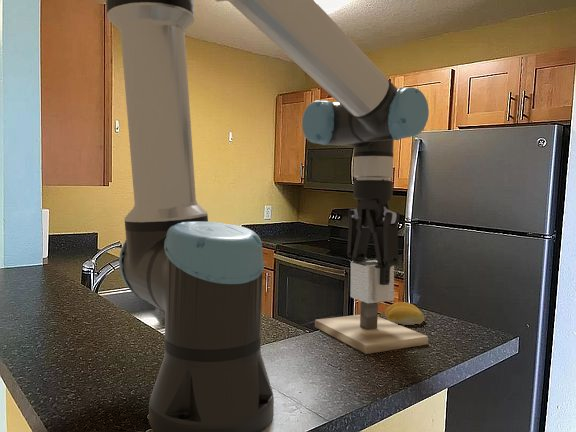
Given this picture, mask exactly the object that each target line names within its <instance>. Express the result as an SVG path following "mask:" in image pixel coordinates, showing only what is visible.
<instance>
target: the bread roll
mask: <svg viewBox="0 0 576 432" xmlns="http://www.w3.org/2000/svg"><path fill="white" fill-rule="evenodd" d="M384 314H385V317H386V320H388V321H390V322H393V323H396V324H403V325H402V326H405V325H414V324H419V325H421V324H420V323H422V322H423V321H424V322H425V315H424V313H423V312H422V311H421V309H419V308H418V307H417V306H416V305H414V304H413V303H410V302H406V301H398V302H397V301H396V302H395V303H394V302H393V303H392V304H390V305H389V306H387V308H386V309H385V313H384ZM424 322H423V323H424ZM423 323H422V324H423ZM414 326H415V325H414Z"/></svg>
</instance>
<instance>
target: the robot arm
mask: <svg viewBox="0 0 576 432" xmlns="http://www.w3.org/2000/svg"><path fill="white" fill-rule="evenodd" d="M215 1H216V2H228V3H230V4H231V5H232V6H233V8H235V9H236V10H237V11H239V13H240V14H242V15H243V16H244V17H245V18H246V19H248V21H249V22H251V23H252V24H253V25H254V26H255V27H256V28H257V29H258V30H259V31H260V32H262V34H264V35H265V36H266V38H268V39H269V40H270V41H271V42H272V43H273V44H274V45H275V46H277V48H279V49H280V50H281V51H282V52H283V53H284V54H285V55H286V56H288V57H289V58H290V60H292V61H293V62H294V63H295V64H296V65H298V67H299V68H301V69H302V70H303V71H304V72H305V73H306V74H307V76H309V77H310V78H311V79H312V80H314V81H315V82H316V83H317V84H318V85H319V86H320V87H321V89H323V90H325V91H326V93H327V94H329V95H330V96H331V97H332V98H333V99H334V100H335V102H333V101H330V100H327V99H326V100H314V101H312V102H310V103H309V104H308V106H306V108H305V110H304V112H303V114H302V119H301V121H302V124H301V125H302V126H301V129H302V132H303V135H304V137H305V138H306V140H307V141H309V142H310V143H312V144H318V145H322V146H326V145H327V146H339V147H350V148H353V173H352V174H353V175H352V176H353V178H355V179H356V180H354V182H353V184H352V185H353V187H352V188H353V190H352V191H353V192H352V194H353V196H352V197H353V199H354V200H357V204H356V208H354V209H352V208H351V209H348V210H347V216H348V230H347V234H348V235H347V249H346V253H347V254H346V255H347V258H350V259H351V261H352V262H360V261H369V259H368V258H367V252H368V247H369V244H370V243H369V242H370V239H371V235H372V237H373V244H374V250H375V256H376V260H377V263H378V265H375V280H374V302H377V303H383V301H384V302H389V301H388V285H389V282H390V268H391V266H394V267H395V266H398V265H399V222H400V218H401V215H400V212H399V211H395V212H394V211H392V210H390V206H389V201H391V200H392V199H393V196H394V195H393V192H394V190H393V189H394V187H393V186H394V182H393V181H391V180H390V179H391V178H393V177H394V146H395V145H394V141H399V140H402V139H406V138H412V137H413V138H414V137H416V136H418V135H419V134H421V133H422V132H423V131H424V129H425V128H426V125H427V123H428V122H429V121H428V120H429V114H430V112H429V111H430V110H429V103H428V100H427V98H426V96H425V94H424V93H423V92H422V91H421V90H420V89H418V88H415V87H413V86H412V87H411V86H409V87H405V86H403V87H400V88H398V87H396V86H395V84H394V83H392V81H390V80H389V79H388V77H387V76H386V75H385V74H384V73H383V72H382V71H381V69H379V68H378V66H377V65H376V64H375V63H374V62H373V61H372V60H371V59H370V58H369V57H368V56H367V55H366V54H365V52H363V51H362V50H361V48H360V47H359V46H358V45H357V44H356V43H355V42H354V41H353V40H352V38H350V37H349V36H348V34H347V33H346V32H345V31H343V29H342V28H341V27H340V26H339V25H338V24H337V23H336V21H334V20H333V18H331V17H330V15H329V14H328V13H327V12H326V11H325V10H324V9H323V8H322V7H321V6H320V5H319V3H317V2H316V1H315V0H215ZM105 3H106V15H107V20H109V22H110V23H111V24H112V25H113V26H114V27H115V28H116V29H118V30H119V32H120V40H121V41H120V42H121V54H122V55H121V56H122V62H123V63H122V65H123V67H122V68H123V79H124V89H125V103H126V114H127V115H126V116H127V129H128V140H129V150H130V151H129V153H130V154H129V155H130V164H131V175H132V176H131V178H132V190H133V201H134V205H133V207H132V209H131V210H130V211H129V212H128V214H126V216H125V217H124V228H125V240H124V243H123V245H122V246H121V249H120V252H119V259H118V265H119V271H120V275H121V278H122V280H123V282H124V284H125V285H126V287H127V288H128V289H129V290H130V291H131V292H132V294H133V295H134V296H135V297H137V298H138V299H140V300H142V302H144V303H146V304H148V305H150V306H154V307H156V309H159V310H161V311H162V312H164V355H163V360H162V362H161V364H160V365H161V366H160V368H159V371H158V374H157V377H156V380H155V382H154V383H155V384H154V386H153V389H152V391H151V394H150V398H149V402H148V424H149V426H150V428H151V429H152V430H153V432H262V431H263V430H265V429H266V428H267V427H268V426H269V425H271V422H272V420H273V419H274V413H275V412H274V410H275V409H274V408H275V407H274V406H275V401H274V400H275V398H274V393H273V389H272V386H271V382H270V378H269V376H268V373H267V368H266V367H265V363H264V358H263V355H262V348H261V347H262V346H261V344H262V343H261V341H262V339H261V338H262V309H263V307H262V306H263V304H262V303H263V271H264V269H265V262H264V253H263V242H262V240H261V237H260V236H259V235H258V234H257V232H255V231H254V230H252V229H250V228H247V227H245V226H241V225H237V224H232V223H230V224H229V223H223V222H219V221H217V222H216V221H209V215H208V211H206V210H205V209H204V208H203V206H201V205H200V204H199V203H198V201H197V198H196V197H197V195H196V180H195V168H194V151H193V136H192V124H191V123H192V122H191V108H190V91H189V80H188V78H189V77H188V64H187V63H188V62H187V50H186V49H187V47H186V35H185V34H186V32H187V31H188V30H189V28H191V26H192V25H193V24H194V23H195V5H194V0H105Z"/></svg>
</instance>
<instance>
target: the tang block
mask: <svg viewBox="0 0 576 432" xmlns="http://www.w3.org/2000/svg"><path fill="white" fill-rule="evenodd" d="M378 312H379V302H377V303H369V304H368V303H365V302H363V301H360V313H359V314H355V315H354V314H353V315H347V316H337V317H329V318H328V317H327V318H318V319H317V318H316V319H315V320H314V328H315V329H317V330H320V331H322V332H323V333H325V334H328V335H329V336H332V337H333V338H334V339H337V340H338V341H340V342H343V343H344V344H346V345H349V346H350V347H352V348H354V349H355V350H358V351H360V352H361V353H363V354H365V355H368V354H375V353H381V352H387V351H394V350H400V349H401V350H402V349H405V348H406V349H407V348H411V347H413V348H414V347H419V346H425V345H428V344H429V336H428V335H425V334H424V333H421V332H418V331H415V330H413V329H411V328H408V327H407V326H406V327H405V326H404V325H398V324H396V323H393V322H390V321H388V320H387V319H385V318H382V317H380V316H379V314H378Z"/></svg>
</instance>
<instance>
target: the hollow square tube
mask: <svg viewBox="0 0 576 432" xmlns="http://www.w3.org/2000/svg"><path fill="white" fill-rule="evenodd" d="M375 265H378V263H377V259H375V260H367V261H360V262H354V261H351V262H350V298H352V299H356V300H358V301H360V302H362V301H363V302H365V303H368V304H369V303H378V302H374V280H375ZM394 292H395V265H394V266H391V268H390V282H389V285H388V301H387V302H390V301H394V300H395V293H394ZM383 302H385V301H383ZM383 302H382V303H383Z"/></svg>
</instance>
